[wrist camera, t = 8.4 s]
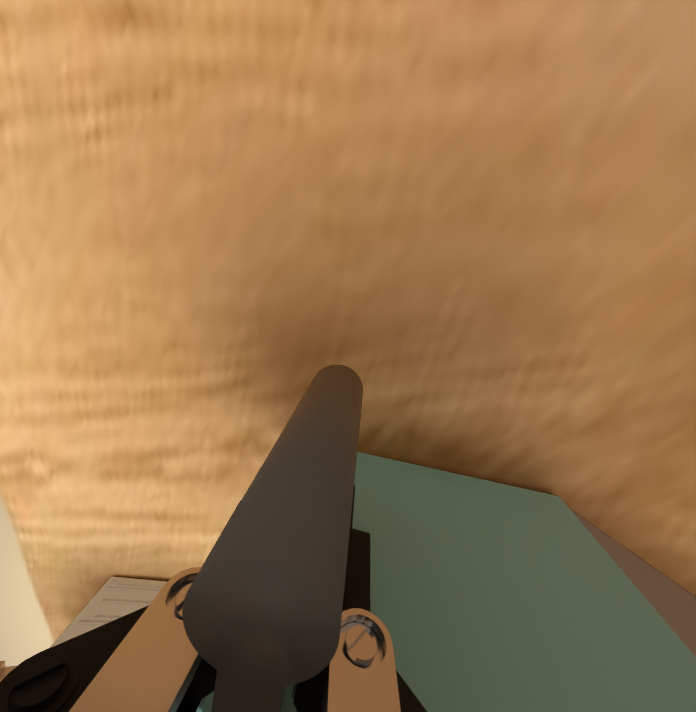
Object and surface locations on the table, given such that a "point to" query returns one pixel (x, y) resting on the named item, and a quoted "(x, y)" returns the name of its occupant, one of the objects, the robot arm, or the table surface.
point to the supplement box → (112, 604)
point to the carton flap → (422, 584)
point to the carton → (653, 587)
